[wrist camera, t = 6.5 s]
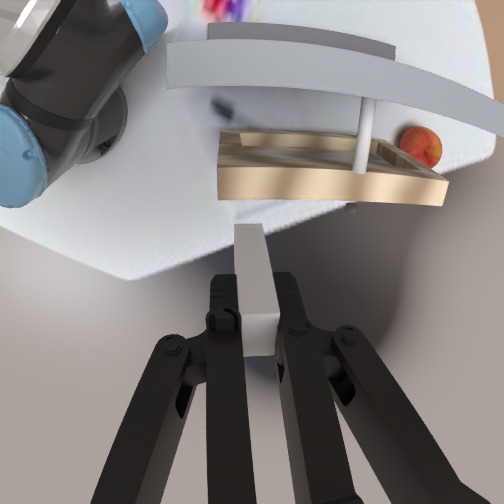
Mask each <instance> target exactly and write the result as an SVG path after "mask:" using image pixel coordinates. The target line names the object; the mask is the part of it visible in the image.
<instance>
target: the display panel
mask: <svg viewBox="0 0 504 504" xmlns="http://www.w3.org/2000/svg"><path fill="white" fill-rule="evenodd" d="M395 49H396V46H393V45H390V44H386V43H383V42H379V41H375V40H372V39H367V38H363V37H359V36H355V35H350V34H345V33H340V32H335V31H329V30H323V29H316V28H309V27H301V26H293V25H282V24H269V23H245V22H221V23H208V40H194V41H181V42H170V43H167V89H173V88H186V87H204V86H269V87H287V88H300V89H311V90H320V91H329V92H336V93H343V94H350V95H356V96H362V101H361V110H360V118H359V126H358V134H357V141H356V148H355V155H354V161H353V168H352V171H353V172H355V173H358V174H365V173H366V167H367V161H368V155H369V149H370V143H371V136H372V130H373V122H374V115H375V107H376V99H378V100H383V101H388V102H393V103H397V104H402V105H406V106H410V107H414V108H418V109H422V110H425V111H429V112H432V113H436V114H439V115H443V116H446V117H449V118H452V119H455V120H458V121H461V122H464V123H467V124H470V125H473V126H476V127H478V128H481V129H484V130H486V131H489V132H491V133H494V134H496V135H499V136H501V137H503V138H504V105H503V104H501V103H499V102H497V101H495V100H493V99H491V98H489V97H487V96H485V95H483V94H481V93H479V92H477V91H475V90H473V89H470V88H468V87H466V86H464V85H461V84H459V83H457V82H454V81H452V80H449V79H447V78H444V77H441V76H439V75H436V74H433V73H431V72H428V71H425V70H422V69H419V68H416V67H413V66H409V65H406V64H403V63H399V62H396V61H395Z"/></svg>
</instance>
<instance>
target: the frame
mask: <svg viewBox="0 0 504 504" xmlns="http://www.w3.org/2000/svg"><path fill="white" fill-rule="evenodd" d="M356 141H357V136H351V135H341V134H331V133H319V132H305V131H286V130H221V131H220V141H219V151H218V162H217V188H218V200H265V199H284V200H342V201H369V202H390V203H407V204H422V205H436V206H442V204H443V201H444V198H445V194H446V191H447V187H448V184H449V181H448V180H446V179H445V178H443V177H442V176H441V175H439V174H438V173H436V172H435V171H433V170H432V169H430V168H429V167H427V166H426V165H424V164H423V163H421V162H420V161H418V160H417V159H415V158H414V157H412V156H410V155H409V154H407V153H406V152H404V151H402V150H401V149H399V148H397V147H396V146H394V145H392V144H391V143H389V142H387V141H385V140H382V139H375V138H371V143H370V149H369V155H368V161H367V167H366V173H365V174H358V173H355V172H353V171H352V168H353V161H354V155H355V148H356ZM358 208H359V206H358V205H357V204H355V203H346V207H345V211H346V212H347V213H349V214H357V213H358Z"/></svg>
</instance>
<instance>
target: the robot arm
mask: <svg viewBox="0 0 504 504" xmlns="http://www.w3.org/2000/svg"><path fill="white" fill-rule="evenodd" d="M167 24H168V16H167V14H166V11H165V10H164V8H163V7H162V5H161V4H160V3H159V2H158V1H157V0H0V75H2V76H5V77H10V78H9V80H8V82H7V84H6V87H5V89H4V91H3V93H2V95H1V97H0V206H2V207H6V208H15V207H16V208H19V207H22V206H24V205H26V204H28V203H29V202H30V201H32V200H33V199H35V198H37V197H39V196H40V195H41V194H42V193H43V192H44V190H45V189H46V188H47V187H48V186H49V185H51V184H52V183H53V182H54V181H55V180H56V179H58V178H59V177H60V176H61V175H62V174H63V173H65V172H66V171H67V170H68V169H69V168H71V167H72V166H73V165H74V164H83V163H89V162H92V161H95V160H97V159H99V158H101V157H102V156H104V155H105V154H106V153H107V152H109V151H110V150H111V149H112V148H113V147H114V146H115V145H116V144H117V142H118V141H119V139H120V138H121V136H122V134H123V131H124V129H125V125H126V121H127V104H126V99H125V96H124V94H123V91H122V90H121V88H120V86H119V84H120V83H121V82H122V81H123V79H124V78H125V77H126V76H127V74H128V73H129V72H130V71H131V70H132V68H133V67H134V66H135V65H136V64H137V63H138V61H139V60H140V59H141V58H142V57H143V56H146V55H147V54H148V52H149V49H150V47H151V46H152V45H153V44H154V43H155V42H156V41H157V39H158V38H159V37H160V36H161V35H162V34H163V33H164V31H165V30H166V28H167ZM234 246H235V247H234V254H235V274H223V275H215V276H214V278H213V279H212V281H211V285H210V311H209V312H208V313H207V316H206V325H207V329H206V330H205V331H204V332H203V333H201V334H200V335H198V336H195V337H192V338H188V339H185V338H184V337H183V336H180V335H177V334H171V335H166V336H164V337H163V338H161V339H160V340H159V341H158V343H157V344H156V346H155V348H154V350H153V352H152V354H151V357H150V359H149V361H148V363H147V365H146V368H145V370H144V372H143V374H142V377H141V379H140V381H139V383H138V386H137V388H136V390H135V392H134V395H133V397H132V399H131V402H130V404H129V407H128V409H127V411H126V413H125V416H124V418H123V421H122V423H121V426H120V428H119V430H118V433H117V435H116V438H115V440H114V442H113V445H112V448H111V450H110V452H109V455H108V458H107V460H106V463H105V465H104V468H103V471H102V473H101V476H100V478H99V481H98V484H97V487H96V489H95V492H94V495H93V498H92V500H91V503H90V504H160V503H161V499H162V496H163V493H164V489H165V486H166V483H167V480H168V476H169V473H170V469H171V467H172V463H173V460H174V457H175V454H176V451H177V447H178V444H179V440H180V437H181V434H182V431H183V428H184V425H185V422H186V419H187V415H188V412H189V409H190V406H191V403H192V399H193V397H194V393H195V390H196V387H197V385H198V384H201V383H204V382H206V442H207V484H208V504H257V502H256V493H255V483H254V472H253V462H252V451H251V440H250V429H249V417H248V406H247V393H246V382H245V369H244V357H245V356H264V355H274V353H275V352H276V364H275V370H274V375H276V374H277V379H278V386H279V393H280V399H281V406H282V413H283V419H284V427H285V433H286V440H287V447H288V454H289V460H290V468H291V475H292V481H293V489H294V495H295V502H296V504H364V503H363V501H362V499H361V498H360V497H359V496H358V495H357V494H356V492H355V489H354V485H353V481H352V476H351V471H350V467H349V462H348V458H347V454H346V450H345V445H344V441H343V437H342V432H341V428H340V424H339V420H338V416H337V412H336V408H335V404H334V401H335V402H336V404H337V406H338V408H339V410H340V412H341V413H342V415H343V417H344V419H345V420H346V422H347V424H348V426H349V428H350V429H351V431H352V433H353V435H354V437H355V438H356V440H357V442H358V444H359V445H360V447H361V449H362V451H363V453H364V455H365V457H366V458H367V460H368V462H369V464H370V466H371V467H372V469H373V471H374V472H375V475H376V476H377V478H378V480H379V482H380V484H381V485H382V487H383V489H384V491H385V492H386V494H387V496H388V498H389V500H390V501H391V503H392V504H491V503H490V502H489V501H487V500H486V499H484V498H483V497H482V496H480V495H479V494H477V493H476V492H474V491H473V490H472V489H470V488H469V487H467V486H466V485H465V484H463V483H462V482H460V480H459V478H458V476H457V475H456V473H455V471H454V470H453V468H452V467H451V465H450V463H449V462H448V460H447V458H446V457H445V455H444V453H443V452H442V450H441V449H440V447H439V445H438V444H437V442H436V441H435V439H434V438H433V436H432V434H431V433H430V431H429V430H428V428H427V427H426V425H425V424H424V422H423V421H422V419H421V417H420V416H419V414H418V413H417V411H416V410H415V408H414V407H413V405H412V404H411V402H410V401H409V399H408V398H407V397H406V395H405V393H404V392H403V390H402V389H401V387H400V386H399V385H398V383H397V382H396V380H395V379H394V377H393V376H392V375H391V373H390V372H389V370H388V369H387V367H386V365H385V364H384V363H383V361H382V360H381V358H380V357H379V355H378V354H377V353H376V351H375V350H374V348H373V347H372V346H371V344H370V343H369V341H368V340H367V339H366V337H365V336H364V334H363V333H362V332H361V331H360V330H359V329H357V328H356V327H354V326H349V325H345V326H341V327H339V328H337V329H336V331H335V332H332V331H327V330H322V329H319V328H317V327H315V326H313V325H312V323H311V322H310V321H309V320H308V319H307V317H306V313H305V310H304V306H303V303H302V299H301V296H300V292H299V289H298V285H297V282H296V279H295V277H294V276H293V275H292V274H291V273H290V272H272V270H271V265H270V261H269V255H268V251H267V246H266V241H265V237H264V231H263V227H262V224H234ZM333 399H334V400H333Z"/></svg>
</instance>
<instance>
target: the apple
mask: <svg viewBox="0 0 504 504" xmlns="http://www.w3.org/2000/svg"><path fill="white" fill-rule="evenodd" d="M400 149H401V150H402V151H404V152H406V153H407V154H409V155H410V156H412V157H414V158H415V159H417V160H418V161H420V162H421V163H423V164H424V165H426V166H427V167H429V168H430V169H431V168H433V167H434V166H435V165H436V164H437V163H438V162H439V160H440V158H441V155H442V144H441V141H440V139H439V137H438V136H437V135H436V134H435V133H434V132H433V131H432V130H430V129H428V128H425V127H413V128H410V129H408V130H407V131H406V132H405V133H404V134H403V135H402V138H401V141H400Z"/></svg>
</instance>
